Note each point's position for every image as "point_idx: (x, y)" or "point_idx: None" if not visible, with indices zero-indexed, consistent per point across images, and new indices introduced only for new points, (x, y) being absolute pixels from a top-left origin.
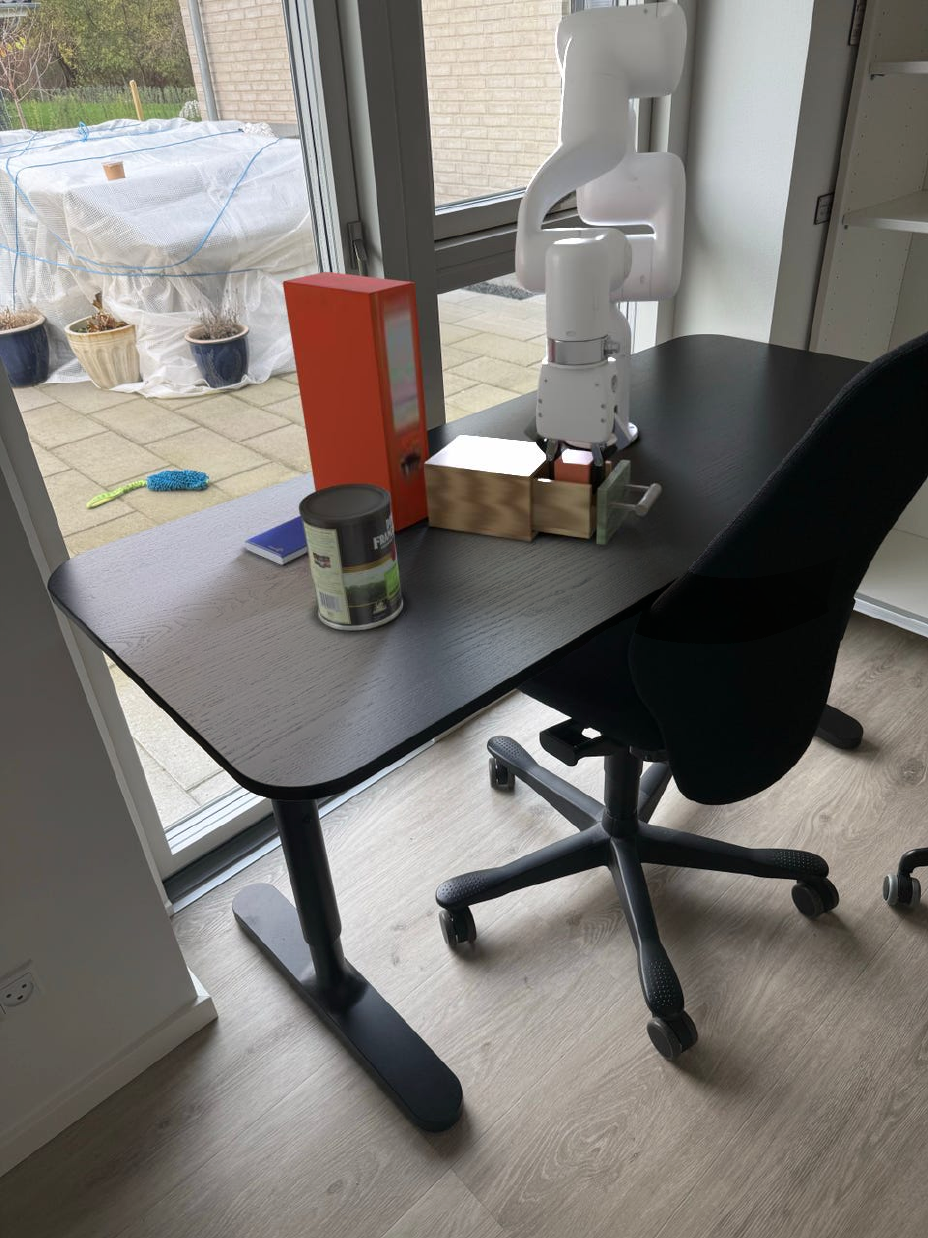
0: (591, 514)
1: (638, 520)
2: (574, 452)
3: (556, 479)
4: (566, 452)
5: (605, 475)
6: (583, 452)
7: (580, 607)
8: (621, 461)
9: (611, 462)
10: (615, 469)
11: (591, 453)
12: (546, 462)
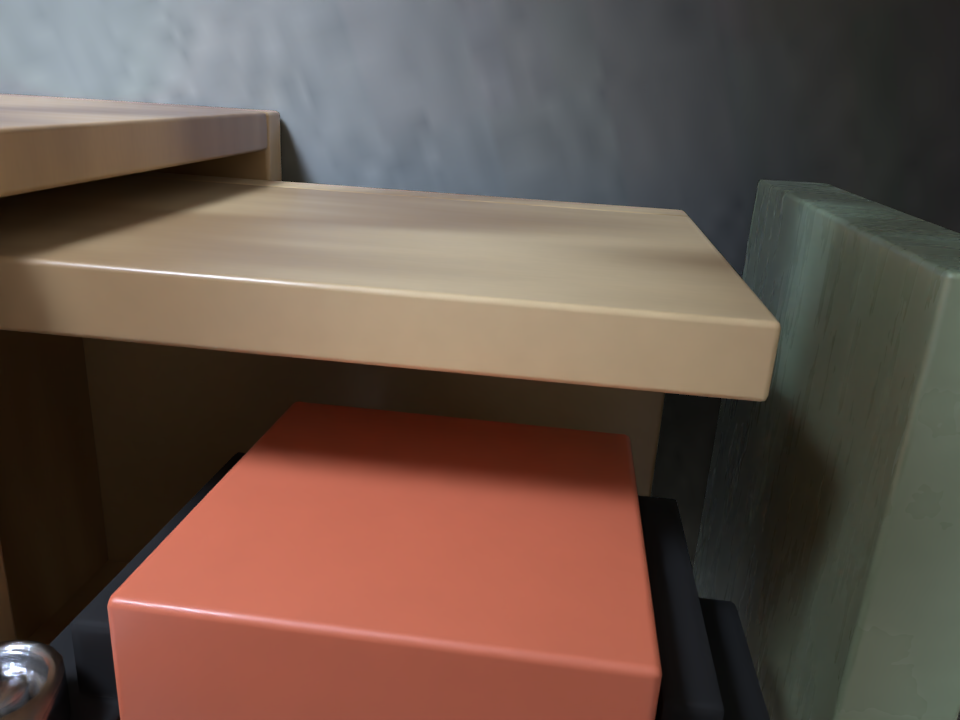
0: (576, 400)
1: (893, 184)
2: (271, 706)
3: None
4: (161, 715)
5: (746, 644)
6: (403, 691)
7: None
8: (947, 349)
9: (777, 327)
10: (883, 627)
11: (539, 716)
12: (5, 616)
